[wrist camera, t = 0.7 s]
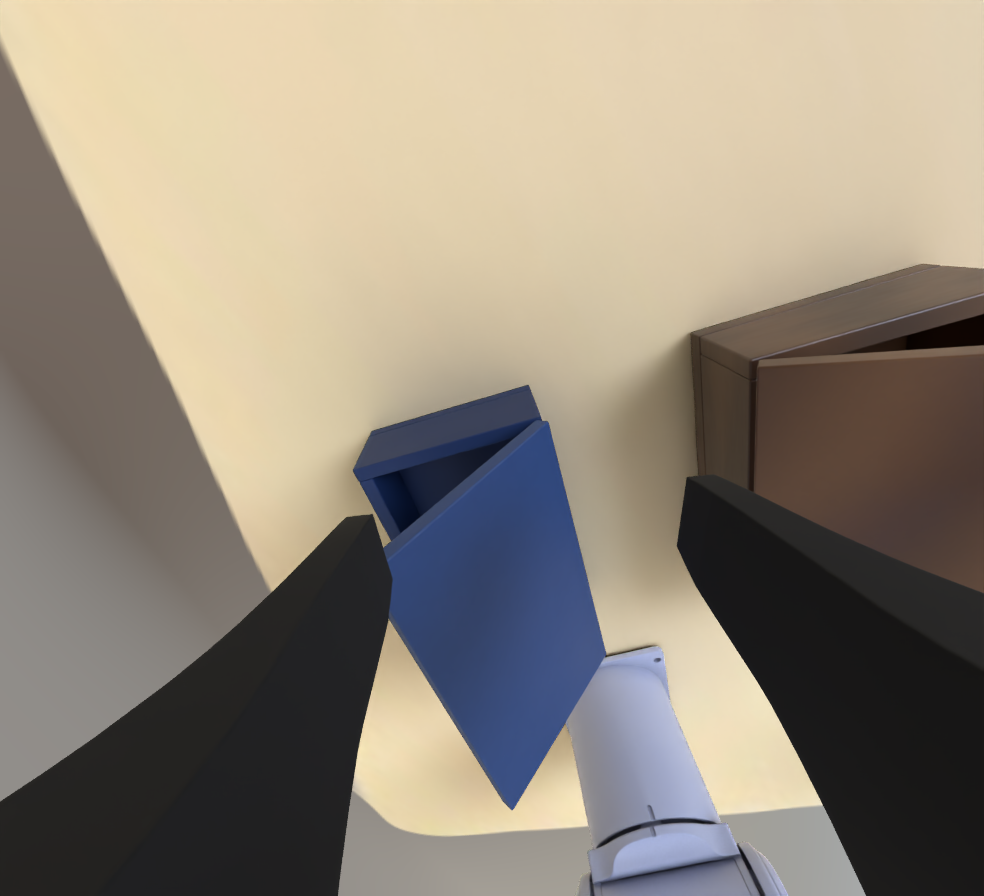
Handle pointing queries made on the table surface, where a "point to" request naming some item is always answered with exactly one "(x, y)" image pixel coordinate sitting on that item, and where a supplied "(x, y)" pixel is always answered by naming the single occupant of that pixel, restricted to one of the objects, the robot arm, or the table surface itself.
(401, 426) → the blue case
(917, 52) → the table surface
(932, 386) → the pen box lid
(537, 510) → the blue case lid
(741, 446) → the pen box
